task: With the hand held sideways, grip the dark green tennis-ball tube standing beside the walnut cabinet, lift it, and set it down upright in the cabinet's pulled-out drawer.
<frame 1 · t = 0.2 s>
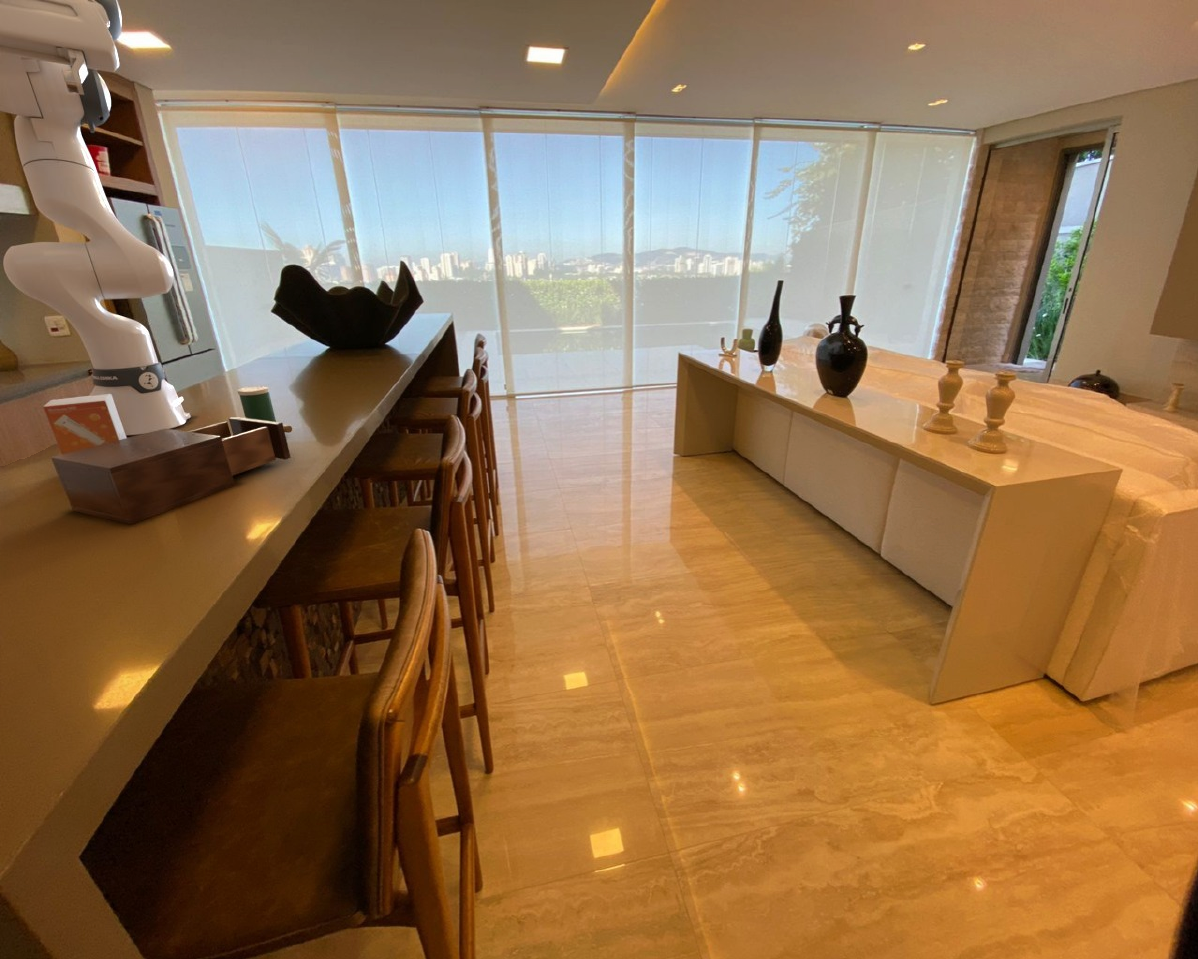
hand: (21, 82, 62), 54 cm above the counter, tool tilted 30°, fingers open, 8 cm apart
drawer: (236, 445, 95), point 4 cm above the counter, slide at 10.5 cm
cabinet: (158, 497, 84), on the counter
small box: (105, 470, 96), on the counter
ball tube: (266, 440, 112), on the counter
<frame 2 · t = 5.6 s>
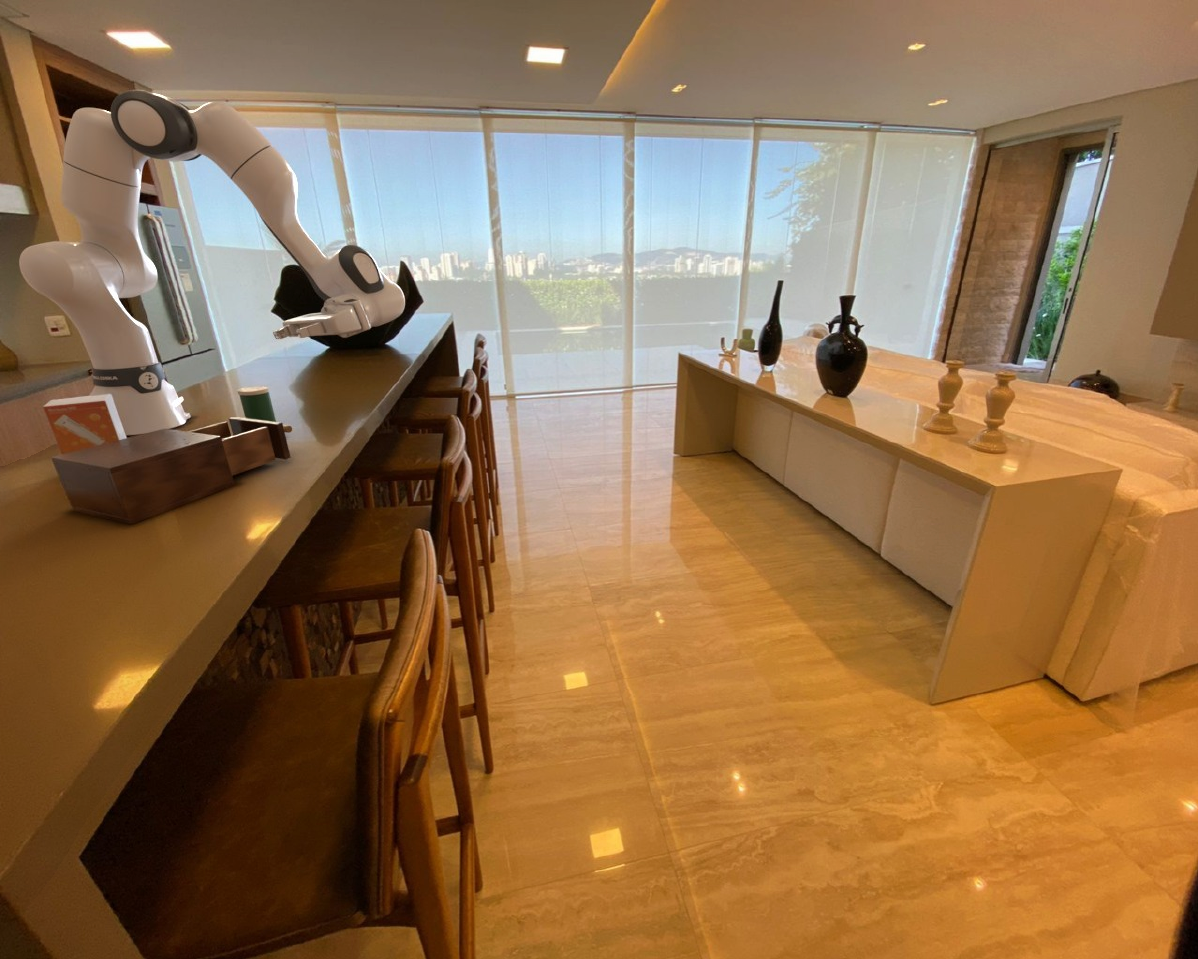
hand: (287, 335, 111), 21 cm above the counter, tool horizontal, fingers open, 8 cm apart
nothing on the counter moved.
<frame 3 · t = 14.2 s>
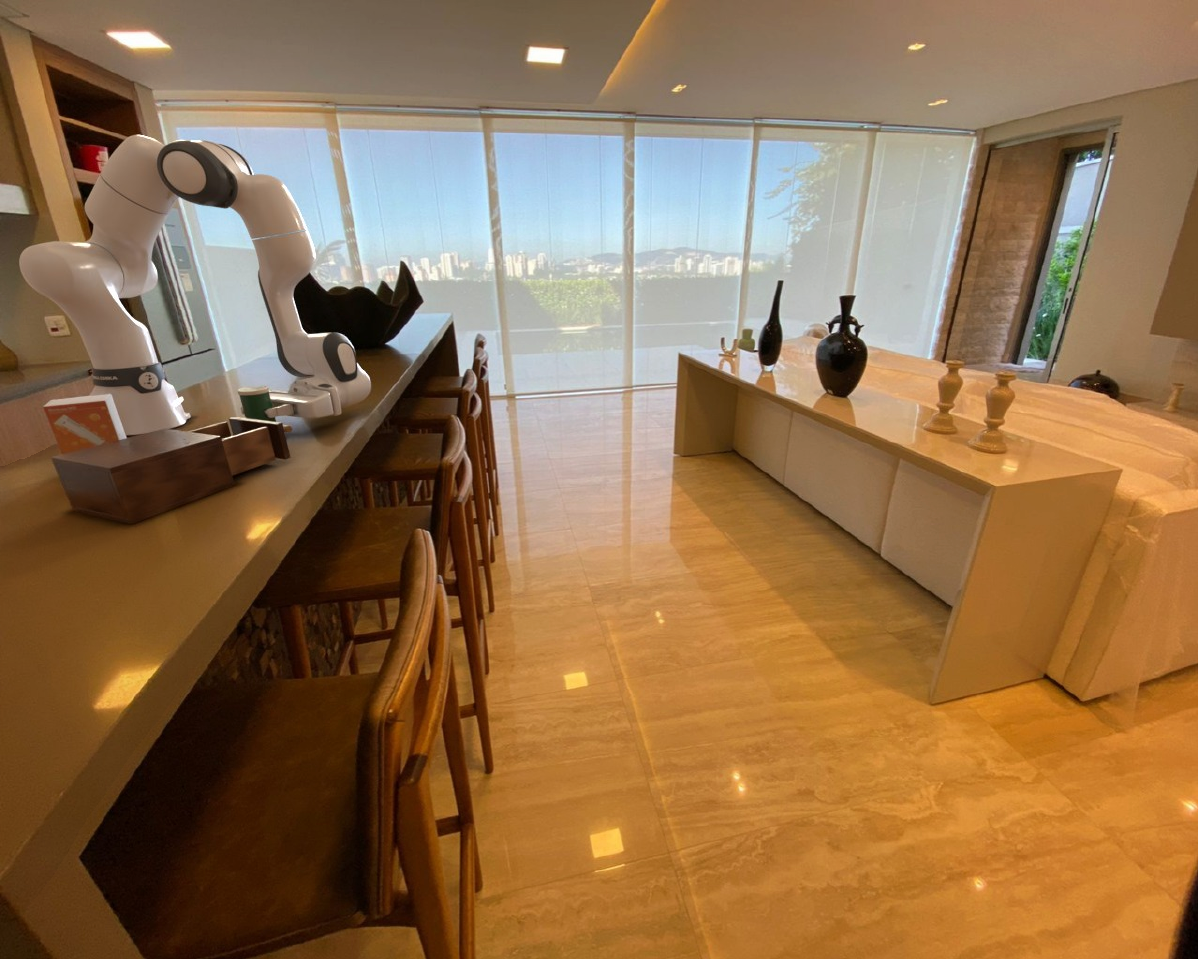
hand: (255, 412, 109), 6 cm above the counter, tool horizontal, fingers closed on ball tube, 5 cm apart
ball tube: (266, 440, 112), on the counter, touching gripper
everything else where it was.
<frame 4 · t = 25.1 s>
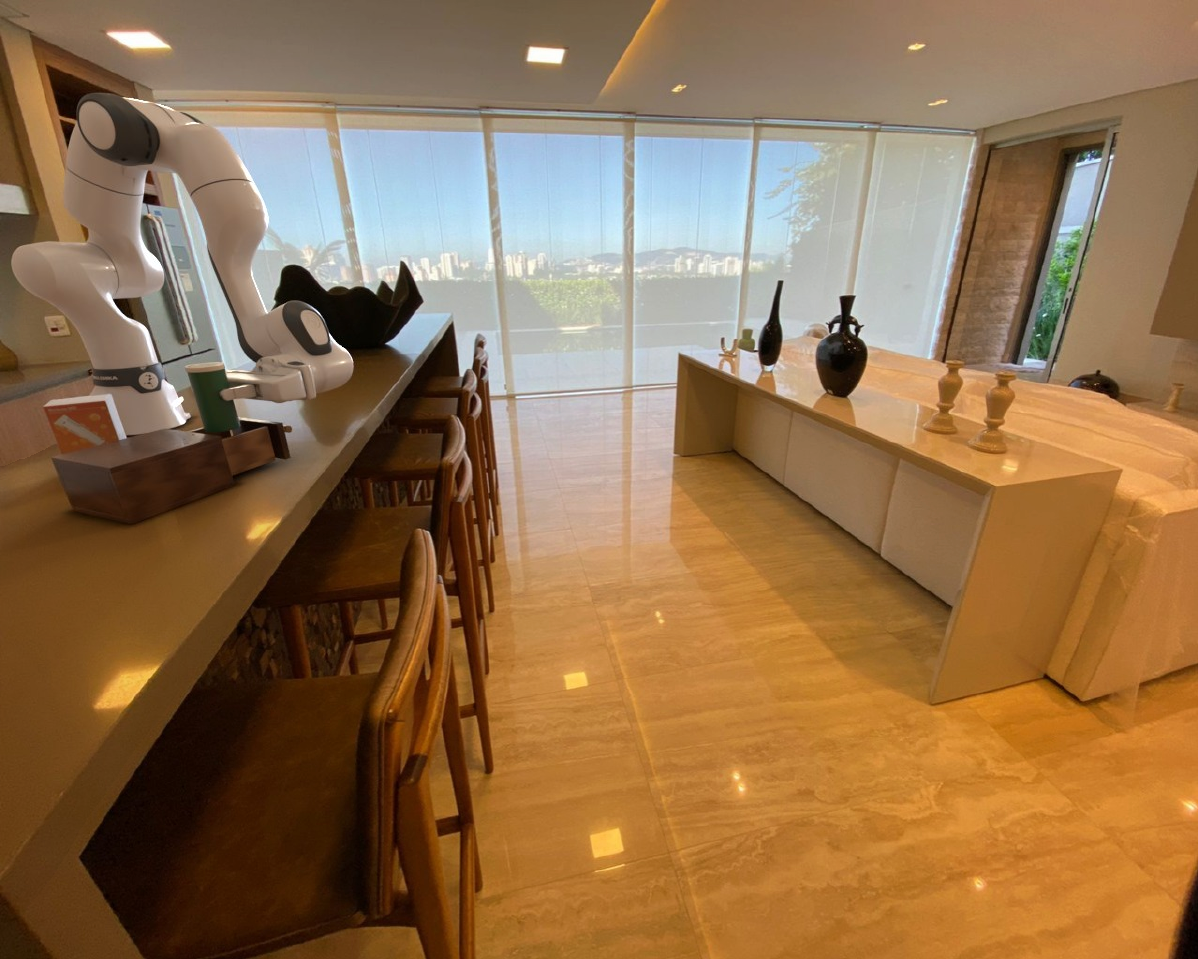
hand: (207, 394, 89), 14 cm above the counter, tool horizontal, fingers closed on ball tube, 5 cm apart
ball tube: (223, 428, 92), point 8 cm above the counter, touching gripper
everything else where it was.
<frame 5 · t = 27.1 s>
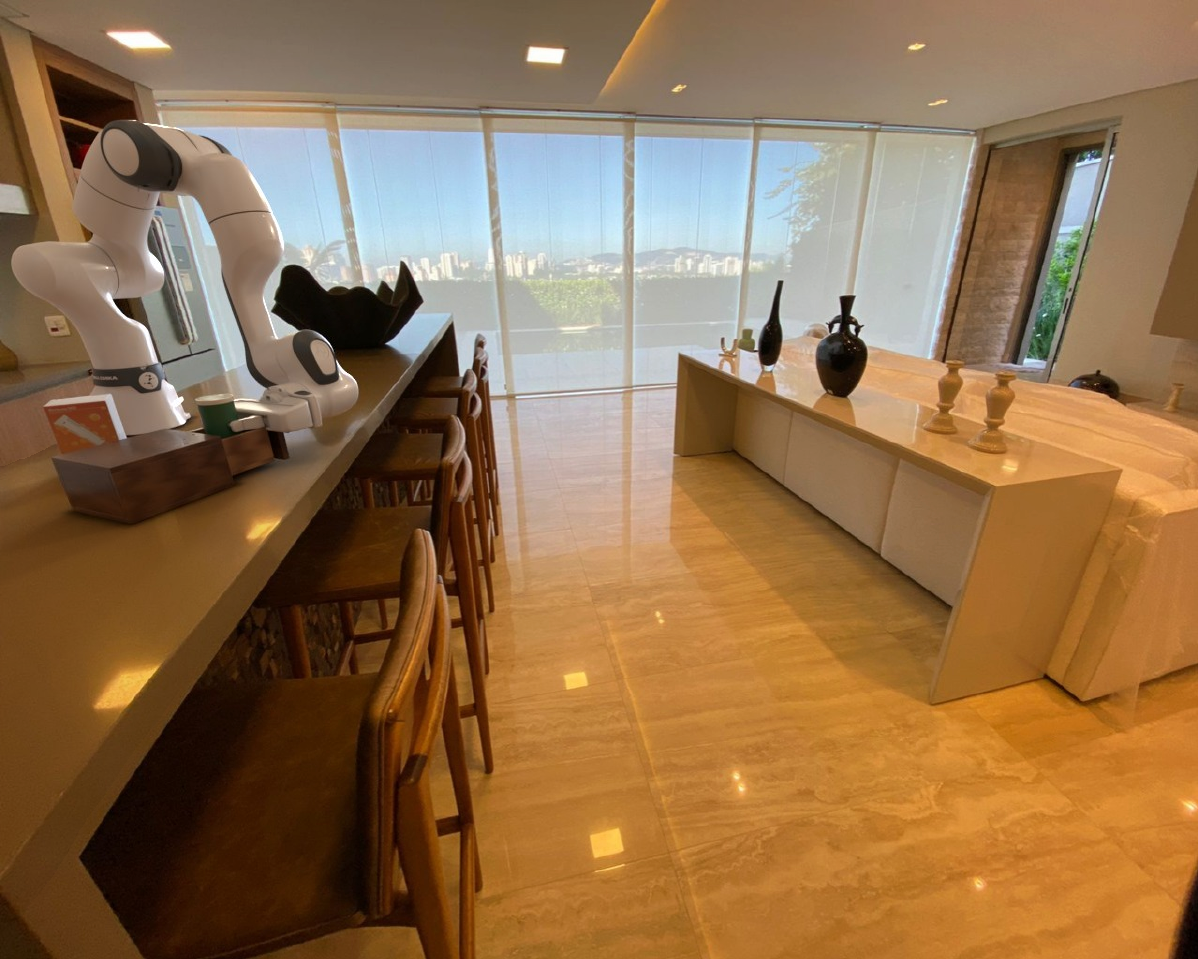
hand: (217, 425, 91), 9 cm above the counter, tool horizontal, fingers closed on ball tube, 5 cm apart
drawer: (235, 445, 95), point 4 cm above the counter, slide at 10.3 cm, touching arm, gripper
ball tube: (231, 457, 94), point 2 cm above the counter, touching gripper
everything else where it was.
when the fingers open (10 cm above the counter, at t = 36.3 s): ball tube drops 1 cm, resting on drawer.
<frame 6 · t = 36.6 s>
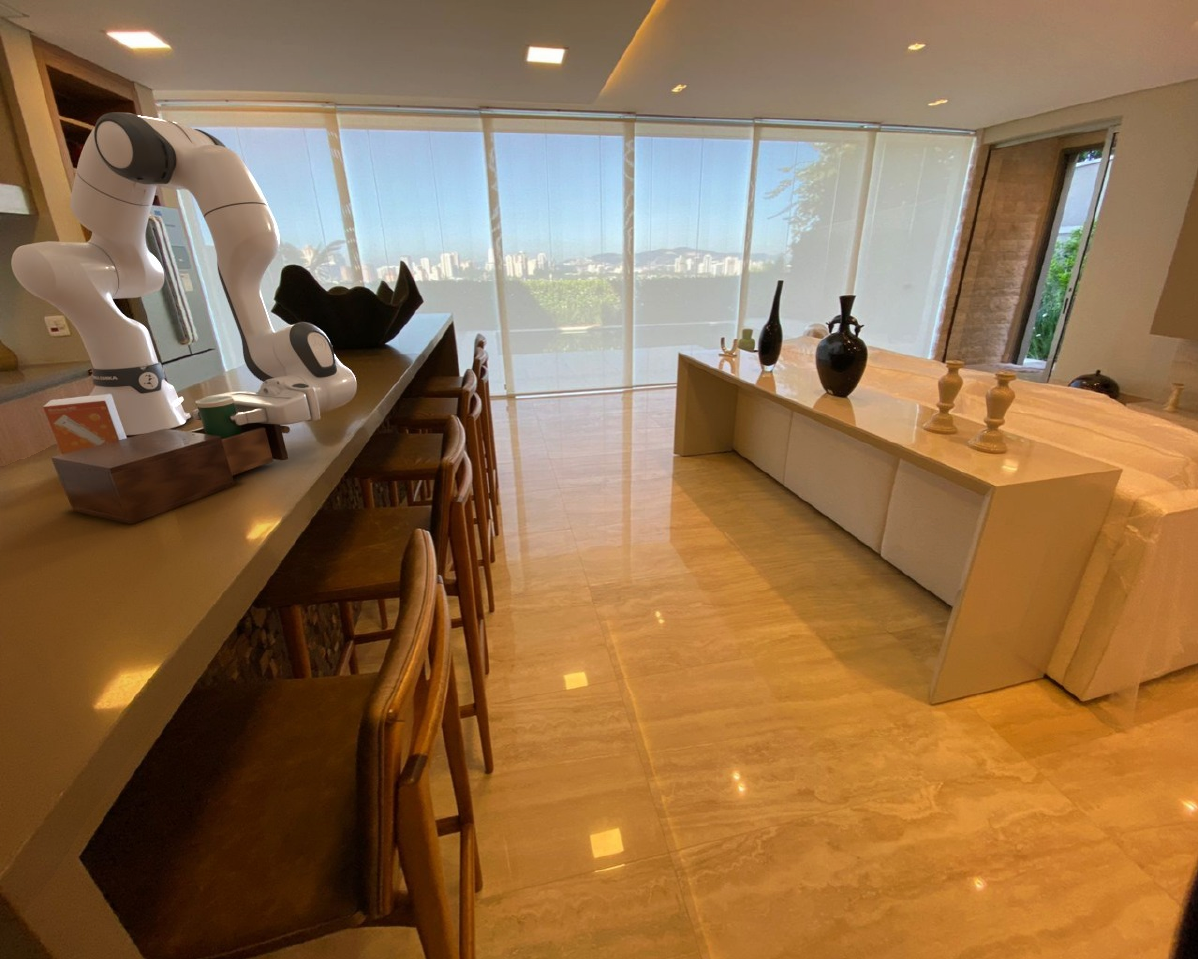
hand: (214, 418, 91), 10 cm above the counter, tool horizontal, fingers open, 8 cm apart
drawer: (233, 445, 94), point 4 cm above the counter, slide at 10.0 cm, touching ball tube
ball tube: (231, 459, 94), point 2 cm above the counter, touching drawer
everything else where it was.
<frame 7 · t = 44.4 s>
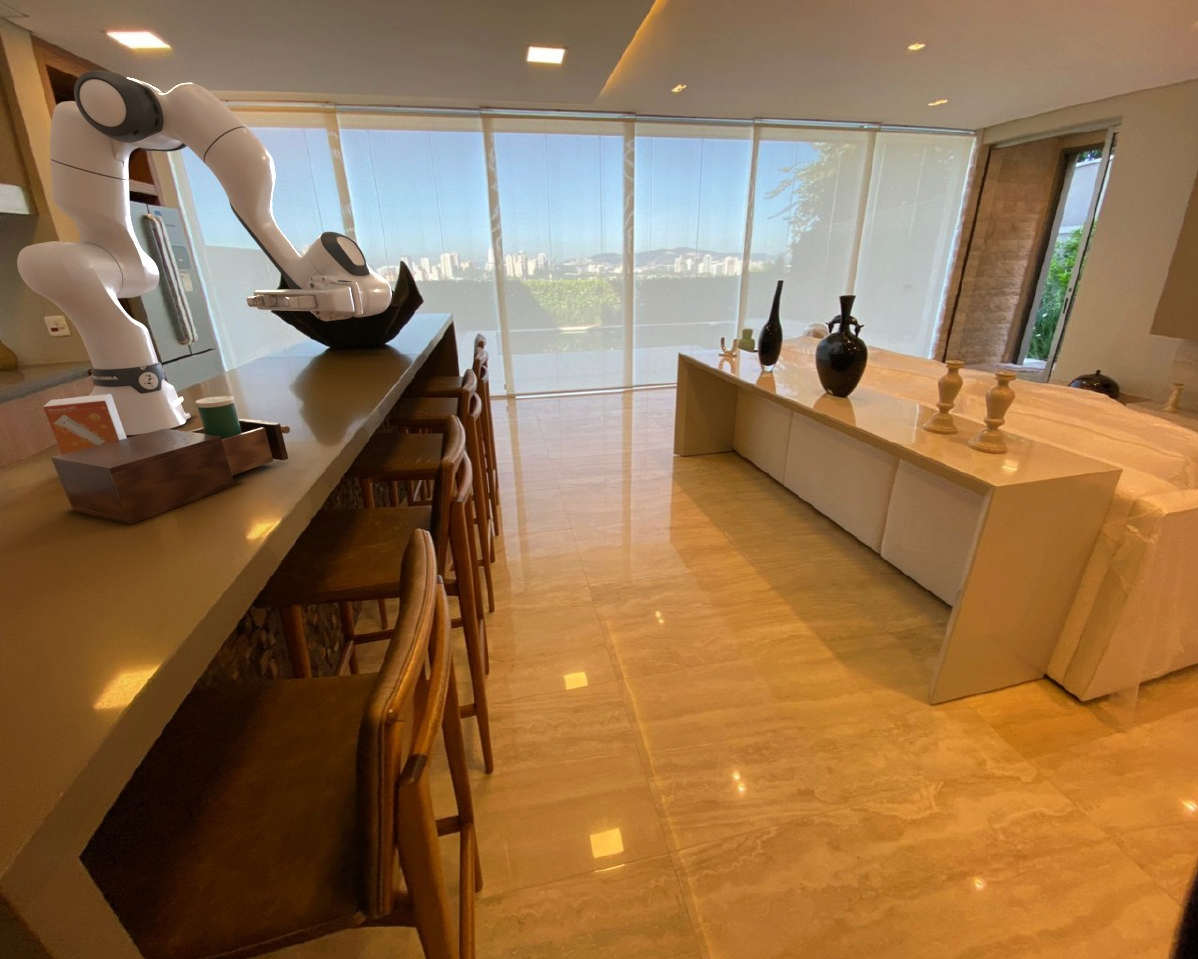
hand: (268, 302, 97), 28 cm above the counter, tool horizontal, fingers open, 8 cm apart
nothing on the counter moved.
at the end: ball tube inside the target area in the drawer (0.1 cm from its centre), point 2.0 cm above the cabinet's base; ball tube tilted 0°; the gripper is holding nothing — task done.
